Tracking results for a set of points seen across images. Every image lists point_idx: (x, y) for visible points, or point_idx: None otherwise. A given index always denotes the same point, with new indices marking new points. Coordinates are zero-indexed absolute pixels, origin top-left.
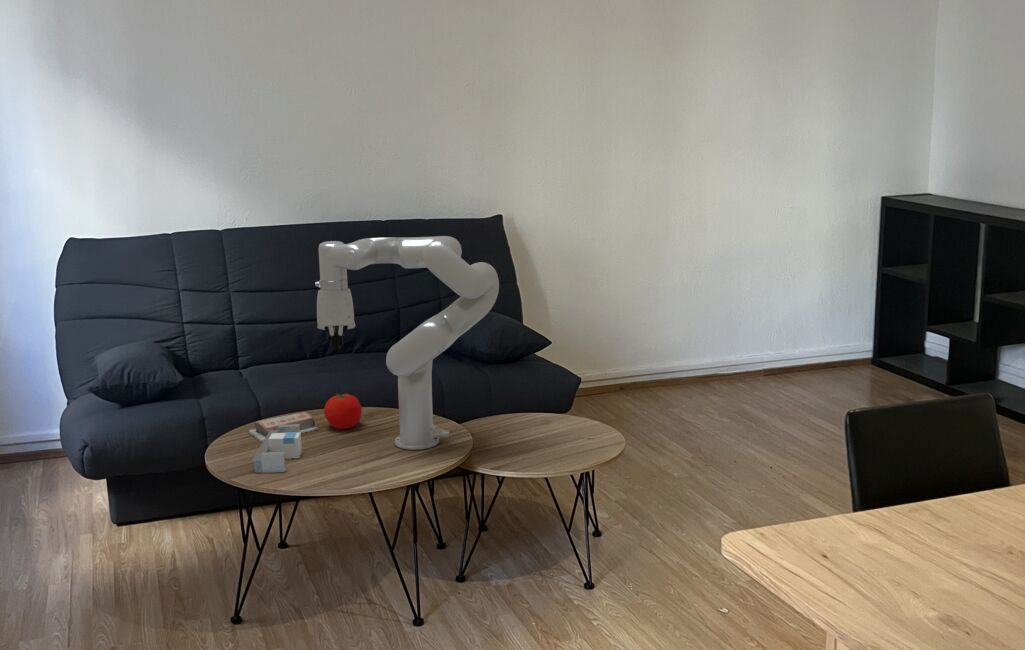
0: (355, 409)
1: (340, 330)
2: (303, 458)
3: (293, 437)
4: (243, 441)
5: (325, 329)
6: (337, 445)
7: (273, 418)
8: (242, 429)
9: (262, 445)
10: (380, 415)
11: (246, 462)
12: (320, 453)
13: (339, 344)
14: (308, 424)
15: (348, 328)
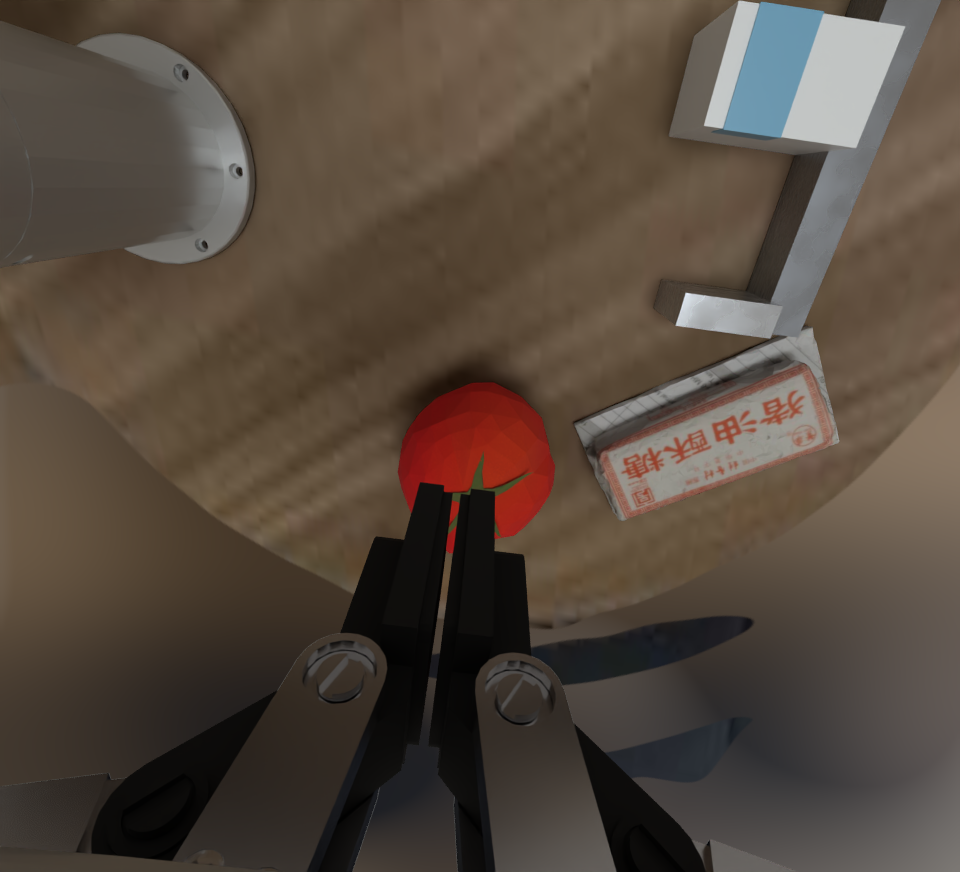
0: (418, 427)
1: (308, 743)
2: (673, 31)
3: (762, 14)
4: (875, 350)
5: (675, 836)
6: (506, 208)
7: (761, 461)
8: (841, 486)
9: (896, 83)
10: (353, 527)
11: (951, 27)
12: (587, 100)
13: (409, 525)
14: (613, 436)
15: (109, 796)
